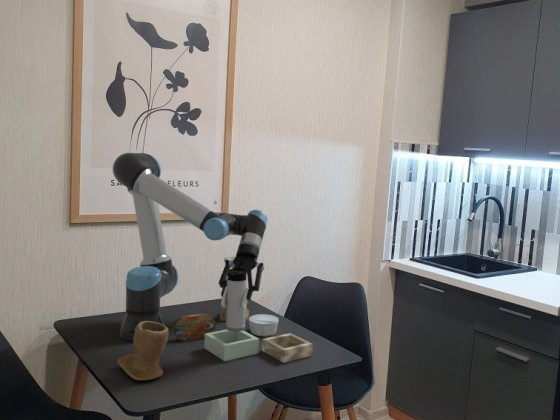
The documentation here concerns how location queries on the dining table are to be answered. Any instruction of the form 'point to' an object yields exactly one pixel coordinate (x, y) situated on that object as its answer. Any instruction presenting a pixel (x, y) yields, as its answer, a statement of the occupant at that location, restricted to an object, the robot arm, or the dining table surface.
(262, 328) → the ramekin
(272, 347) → the brown square tray
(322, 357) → the dining table surface
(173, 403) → the dining table surface
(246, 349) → the mint green square tray
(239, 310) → the travel mug
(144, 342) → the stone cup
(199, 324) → the tin
